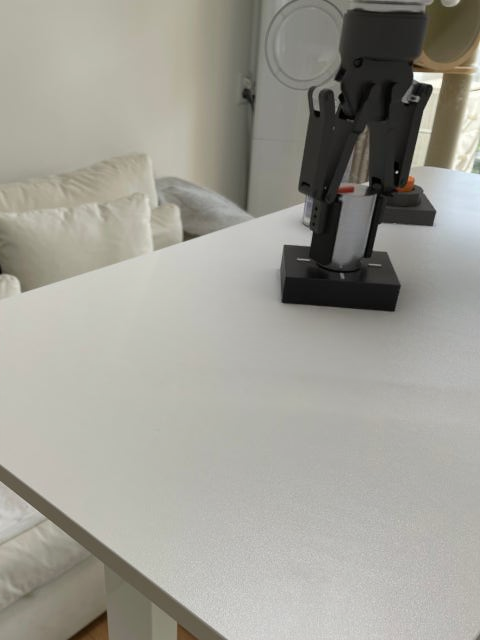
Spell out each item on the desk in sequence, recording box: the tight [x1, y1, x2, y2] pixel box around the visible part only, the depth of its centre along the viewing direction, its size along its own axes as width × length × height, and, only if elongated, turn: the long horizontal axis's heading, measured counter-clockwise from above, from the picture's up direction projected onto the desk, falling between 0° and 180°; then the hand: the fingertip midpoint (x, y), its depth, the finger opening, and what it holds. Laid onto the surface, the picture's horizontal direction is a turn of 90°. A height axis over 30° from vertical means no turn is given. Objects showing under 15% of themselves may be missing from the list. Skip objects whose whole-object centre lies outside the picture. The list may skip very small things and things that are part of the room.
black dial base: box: [280, 244, 402, 312], centre depth 73 cm, size 12×10×3 cm
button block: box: [382, 183, 437, 227], centre depth 96 cm, size 10×9×4 cm
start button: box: [396, 175, 416, 192], centre depth 95 cm, size 4×4×2 cm
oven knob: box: [317, 182, 377, 271], centre depth 70 cm, size 5×5×8 cm
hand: (340, 256), depth 72 cm, fingers closed on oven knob, 5 cm apart
